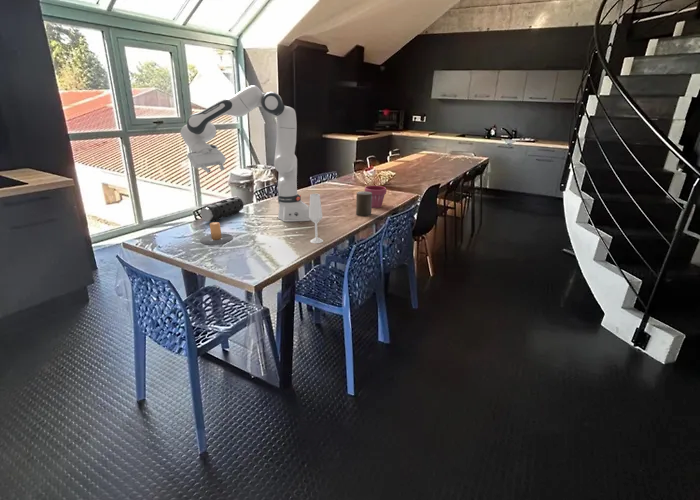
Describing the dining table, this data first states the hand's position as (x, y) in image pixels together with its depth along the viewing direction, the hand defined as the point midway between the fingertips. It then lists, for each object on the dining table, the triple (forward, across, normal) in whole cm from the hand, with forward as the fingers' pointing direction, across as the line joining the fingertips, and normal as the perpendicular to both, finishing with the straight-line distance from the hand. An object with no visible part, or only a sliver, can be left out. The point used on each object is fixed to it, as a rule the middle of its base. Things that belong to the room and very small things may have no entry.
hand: (216, 170), depth 206 cm
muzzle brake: (+14, +11, +31) cm, 36 cm away
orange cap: (+33, -18, +11) cm, 39 cm away
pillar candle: (+63, +62, -18) cm, 91 cm away
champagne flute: (+66, +7, -21) cm, 69 cm away
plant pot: (+61, +83, -16) cm, 104 cm away
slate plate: (+33, -18, +11) cm, 39 cm away
